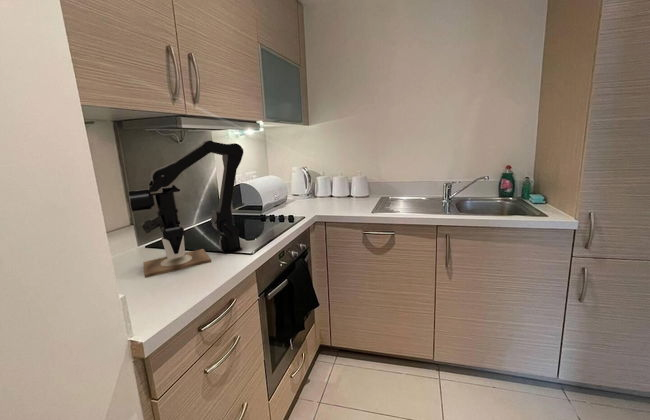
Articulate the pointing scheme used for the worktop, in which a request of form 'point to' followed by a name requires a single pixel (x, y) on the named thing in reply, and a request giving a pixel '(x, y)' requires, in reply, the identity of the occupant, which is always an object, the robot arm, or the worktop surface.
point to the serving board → (175, 263)
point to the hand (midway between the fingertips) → (175, 251)
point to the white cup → (170, 251)
